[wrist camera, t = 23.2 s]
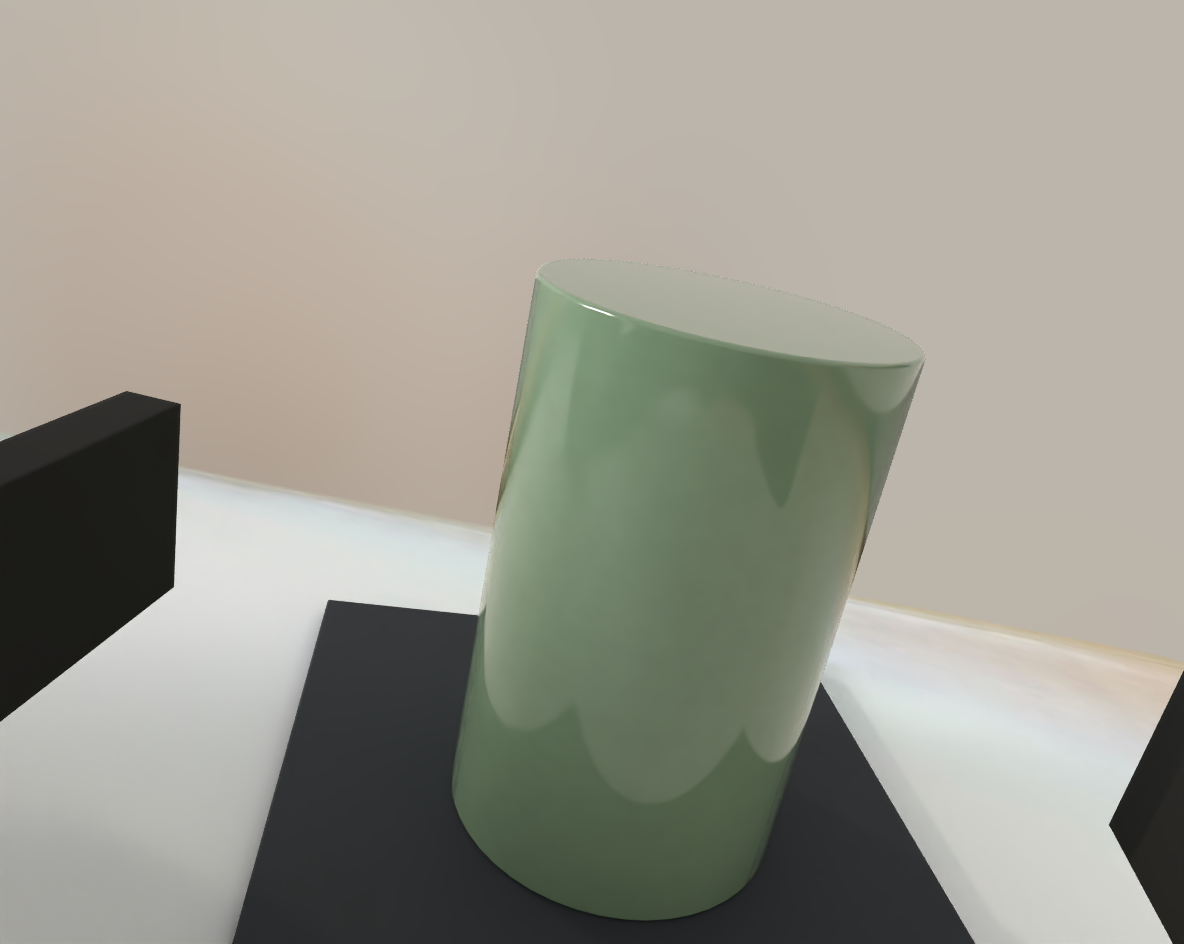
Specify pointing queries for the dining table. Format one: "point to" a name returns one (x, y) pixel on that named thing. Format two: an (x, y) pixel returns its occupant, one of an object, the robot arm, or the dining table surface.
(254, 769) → the dining table surface
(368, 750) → the mat
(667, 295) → the canister
